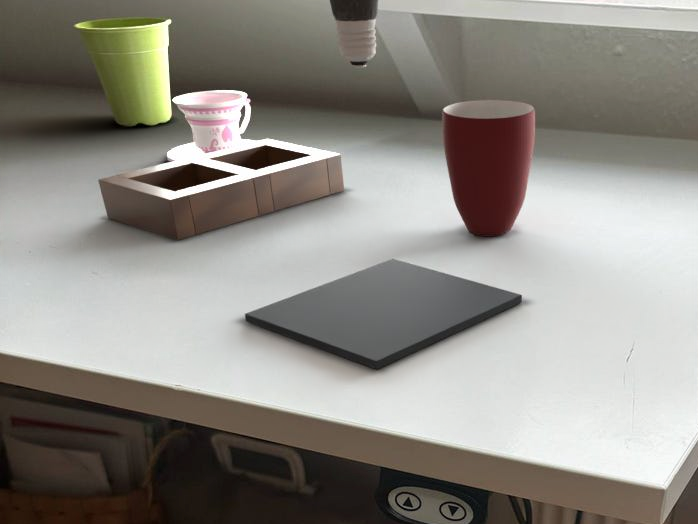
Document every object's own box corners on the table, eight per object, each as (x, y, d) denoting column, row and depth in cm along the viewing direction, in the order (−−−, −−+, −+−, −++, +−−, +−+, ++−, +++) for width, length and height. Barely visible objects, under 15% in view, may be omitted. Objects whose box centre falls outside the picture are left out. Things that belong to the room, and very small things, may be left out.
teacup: (200, 175, 104) (188, 112, 100) (149, 156, 111) (136, 97, 107) (291, 156, 110) (283, 96, 106) (237, 139, 117) (228, 82, 113)
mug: (416, 220, 90) (410, 102, 84) (486, 206, 93) (485, 91, 87) (476, 249, 83) (474, 123, 77) (550, 232, 87) (553, 110, 80)
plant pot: (204, 113, 129) (186, 16, 122) (163, 133, 121) (141, 29, 113) (126, 110, 132) (105, 14, 124) (80, 129, 123) (54, 27, 115)
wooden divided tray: (178, 240, 86) (169, 199, 84) (107, 218, 92) (97, 179, 90) (344, 190, 98) (340, 154, 96) (272, 173, 104) (267, 138, 102)
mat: (377, 369, 64) (376, 361, 64) (245, 321, 71) (244, 313, 71) (522, 302, 73) (522, 294, 73) (393, 265, 80) (392, 258, 80)
